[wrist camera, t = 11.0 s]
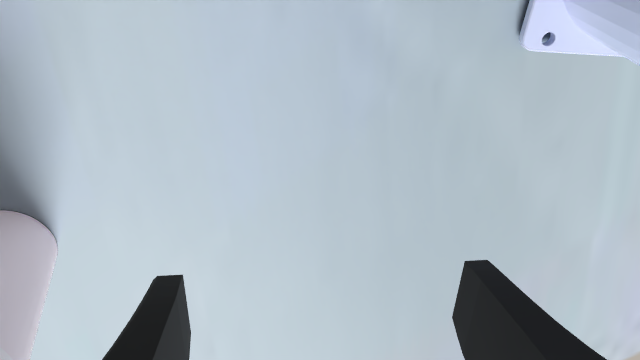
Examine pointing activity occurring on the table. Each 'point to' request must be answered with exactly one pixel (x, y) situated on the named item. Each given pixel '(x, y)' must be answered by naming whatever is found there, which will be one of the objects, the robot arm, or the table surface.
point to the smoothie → (23, 281)
